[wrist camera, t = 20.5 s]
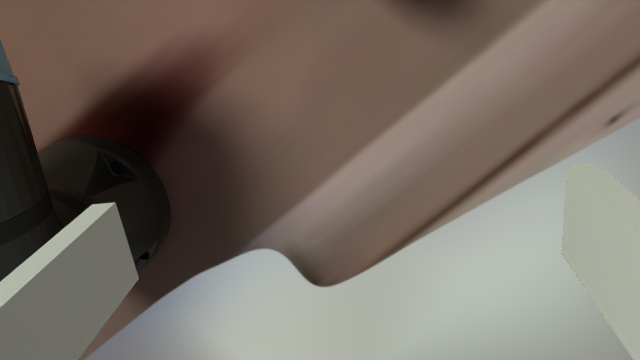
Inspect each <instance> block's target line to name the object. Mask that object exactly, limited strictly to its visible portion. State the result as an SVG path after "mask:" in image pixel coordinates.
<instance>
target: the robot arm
mask: <svg viewBox="0 0 640 360" xmlns="http://www.w3.org/2000/svg"><path fill="white" fill-rule="evenodd" d="M18 85H20V83H19V80H18V78H17V77H16V76H14V75H13V72H12V70H11V67H10V65H9V62H8V59H7V57H6V54H5V51H4V48H3V46H2V43H1V40H0V360H78V359H79V358H80V357H81V355H82V354H83V353H84V351H85V350H86V349H87V347H88V346H89V345H90V343H91V342H92V341H93V339H94V338H95V337H96V335H97V334H98V333H99V331H100V330H101V329H102V327H103V326H104V325H105V323H106V322H107V321H108V319H109V318H110V317H111V315H112V314H113V313H114V311H115V310H116V309H117V307H118V306H119V305H120V303H121V302H122V301H123V299H124V298H125V297H126V295H127V294H128V293H129V291H130V290H131V289H132V287H133V286H134V285H135V283H136V282H137V281H138V279H139V277H138V274H137V270H138V269H140V268H141V267H143V266H144V265H145V264H146V263H147V262H148V261H149V260H150V259H151V258H152V257H153V256H154V254H155V253H156V252H157V251H158V249H159V248H160V247H161V245H162V244H163V242H164V240H165V238H166V236H167V233H168V230H169V225H170V206H169V201H168V198H167V194H166V192H165V189H164V187H163V185H162V183H161V181H160V180H159V178H158V176H157V175H156V174H155V172H154V171H153V170H152V168H151V167H150V166H149V165H148V164H147V163H146V162H145V161H144V160H143V159H142V158H141V157H139V156H138V155H137V154H136V153H134V152H133V151H131V150H130V149H128V148H127V147H125V146H123V145H121V144H119V143H117V142H114V141H112V140H109V139H105V138H102V137H97V136H88V135H80V136H71V137H67V138H63V139H61V140H58V141H56V142H54V143H52V144H50V145H49V146H47V147H45V148H43V149H41V150H40V151H38V152H37V149H36V146H35V143H34V139H33V136H32V133H31V129H30V126H29V122H28V119H27V116H26V112H25V109H24V105H23V102H22V99H21V95H20V92H19V89H18ZM563 222H564V223H563V237H562V255H563V256H564V258H565V259H566V261H567V262H568V264H569V265H570V267H571V268H572V270H573V271H574V273H575V274H576V276H577V277H578V278H579V280H580V281H581V283H582V285H583V286H584V287H585V289H586V290H587V292H588V293H589V295H590V296H591V298H592V299H593V301H594V302H595V304H596V305H597V307H598V308H599V309H600V311H601V312H602V314H603V316H604V317H605V318H606V320H607V321H608V323H609V324H610V326H611V327H612V329H613V330H614V332H615V333H616V335H617V336H618V338H619V339H620V341H621V342H622V343H623V345H624V346H625V348H626V349H627V351H628V352H629V354H630V355H631V357H632V358H633V360H640V199H638V198H637V197H636V196H635V195H634V194H632V193H631V192H630V191H629V190H628V189H626V188H625V187H624V186H623V185H622V184H621V183H619V182H618V181H617V180H616V179H615V178H614V177H612V176H611V175H610V174H609V173H608V172H606V171H605V170H604V169H603V168H602V167H601V166H599V165H598V164H597V163H595V164H582V165H569V166H567V172H566V188H565V204H564V221H563Z"/></svg>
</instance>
